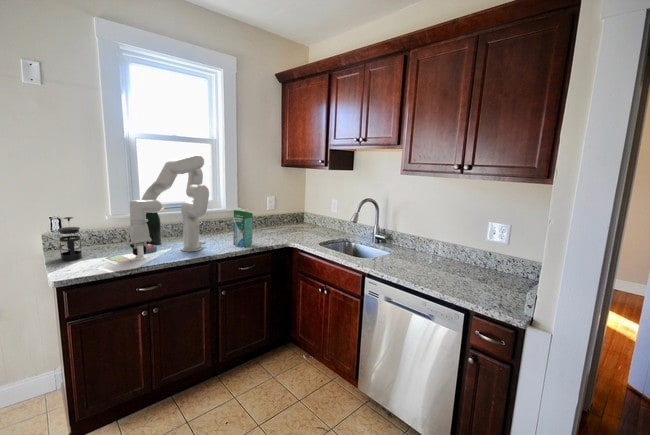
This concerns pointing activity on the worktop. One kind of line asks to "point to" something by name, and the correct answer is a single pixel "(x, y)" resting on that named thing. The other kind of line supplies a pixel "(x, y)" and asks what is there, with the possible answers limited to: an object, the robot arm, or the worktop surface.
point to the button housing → (151, 249)
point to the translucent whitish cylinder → (140, 250)
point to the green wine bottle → (154, 228)
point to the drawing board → (122, 258)
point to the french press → (70, 243)
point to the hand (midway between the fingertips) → (139, 253)
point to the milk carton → (242, 228)
